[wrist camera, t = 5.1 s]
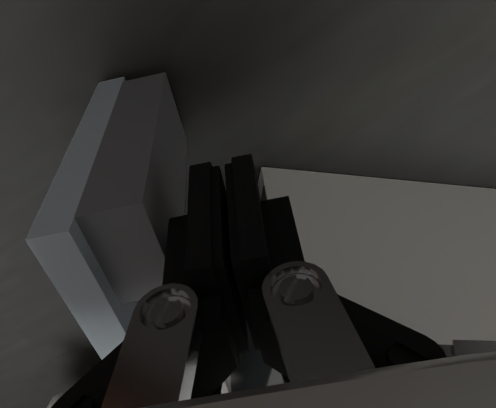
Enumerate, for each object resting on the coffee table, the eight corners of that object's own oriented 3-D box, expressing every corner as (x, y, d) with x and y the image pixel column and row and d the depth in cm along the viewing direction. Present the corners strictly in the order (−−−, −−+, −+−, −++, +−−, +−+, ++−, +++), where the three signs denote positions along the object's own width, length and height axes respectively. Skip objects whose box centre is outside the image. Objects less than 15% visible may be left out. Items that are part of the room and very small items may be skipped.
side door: (98, 82, 18) (24, 240, 10) (166, 66, 17) (139, 216, 10) (205, 344, 27) (205, 522, 20) (249, 335, 27) (266, 512, 20)
